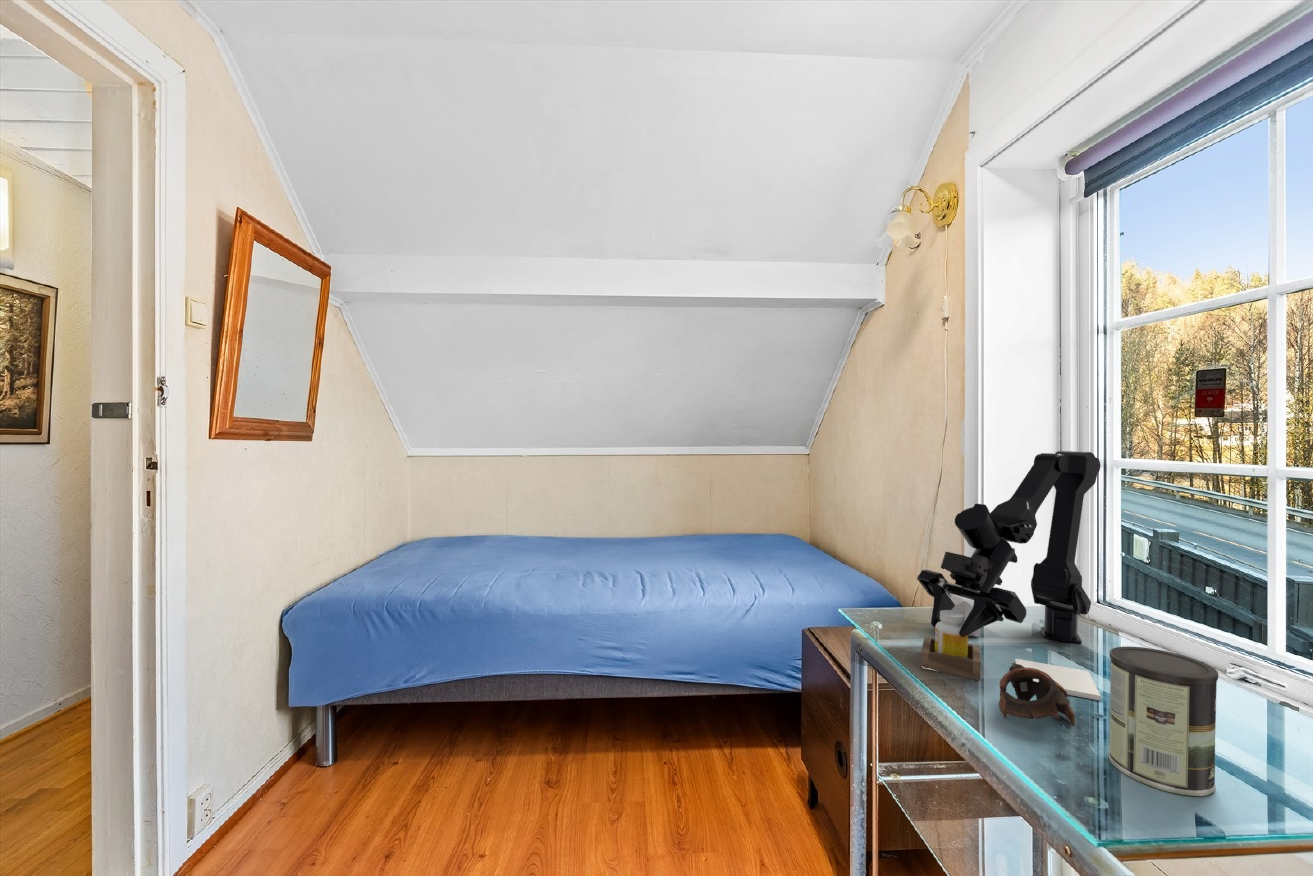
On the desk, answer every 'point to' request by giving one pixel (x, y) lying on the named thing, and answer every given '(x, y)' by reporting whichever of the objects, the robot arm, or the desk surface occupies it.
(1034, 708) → the broken brown clay pot
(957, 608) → the die
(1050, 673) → the off-white coaster
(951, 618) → the supplement bottle
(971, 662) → the walnut holder
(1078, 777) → the desk surface
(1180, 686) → the coffee can
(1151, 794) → the desk surface
